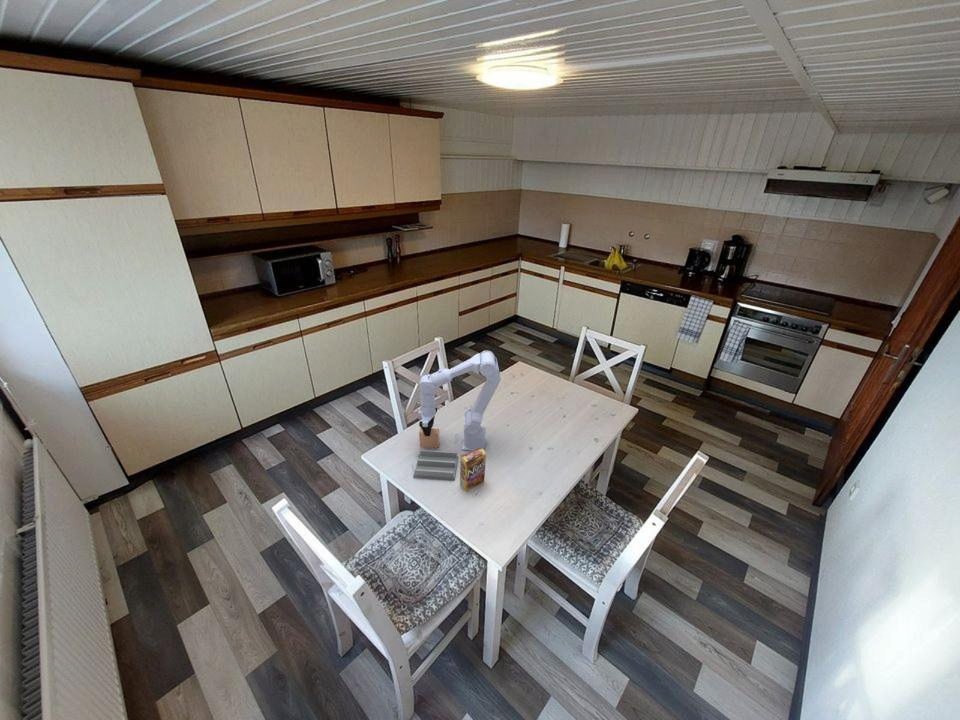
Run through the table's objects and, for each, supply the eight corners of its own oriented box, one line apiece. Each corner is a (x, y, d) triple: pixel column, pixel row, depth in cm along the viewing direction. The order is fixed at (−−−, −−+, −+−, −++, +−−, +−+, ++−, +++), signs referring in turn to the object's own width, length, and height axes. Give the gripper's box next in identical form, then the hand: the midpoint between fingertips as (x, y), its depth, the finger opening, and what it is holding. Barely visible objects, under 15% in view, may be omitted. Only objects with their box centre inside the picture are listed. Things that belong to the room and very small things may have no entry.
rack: (458, 458, 159) (458, 451, 158) (454, 480, 149) (454, 473, 147) (419, 455, 160) (419, 449, 158) (413, 477, 150) (412, 470, 148)
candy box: (465, 492, 144) (465, 462, 137) (459, 484, 147) (459, 454, 140) (485, 482, 148) (486, 452, 141) (479, 475, 151) (479, 445, 144)
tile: (439, 443, 167) (439, 428, 163) (438, 448, 165) (438, 433, 161) (421, 442, 168) (420, 427, 164) (420, 446, 165) (419, 432, 161)
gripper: (421, 392, 162) (423, 418, 169) (414, 413, 149) (416, 440, 156) (438, 393, 162) (439, 419, 168) (432, 414, 149) (433, 441, 156)
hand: (429, 429), depth 162 cm, fingers open, 7 cm apart
